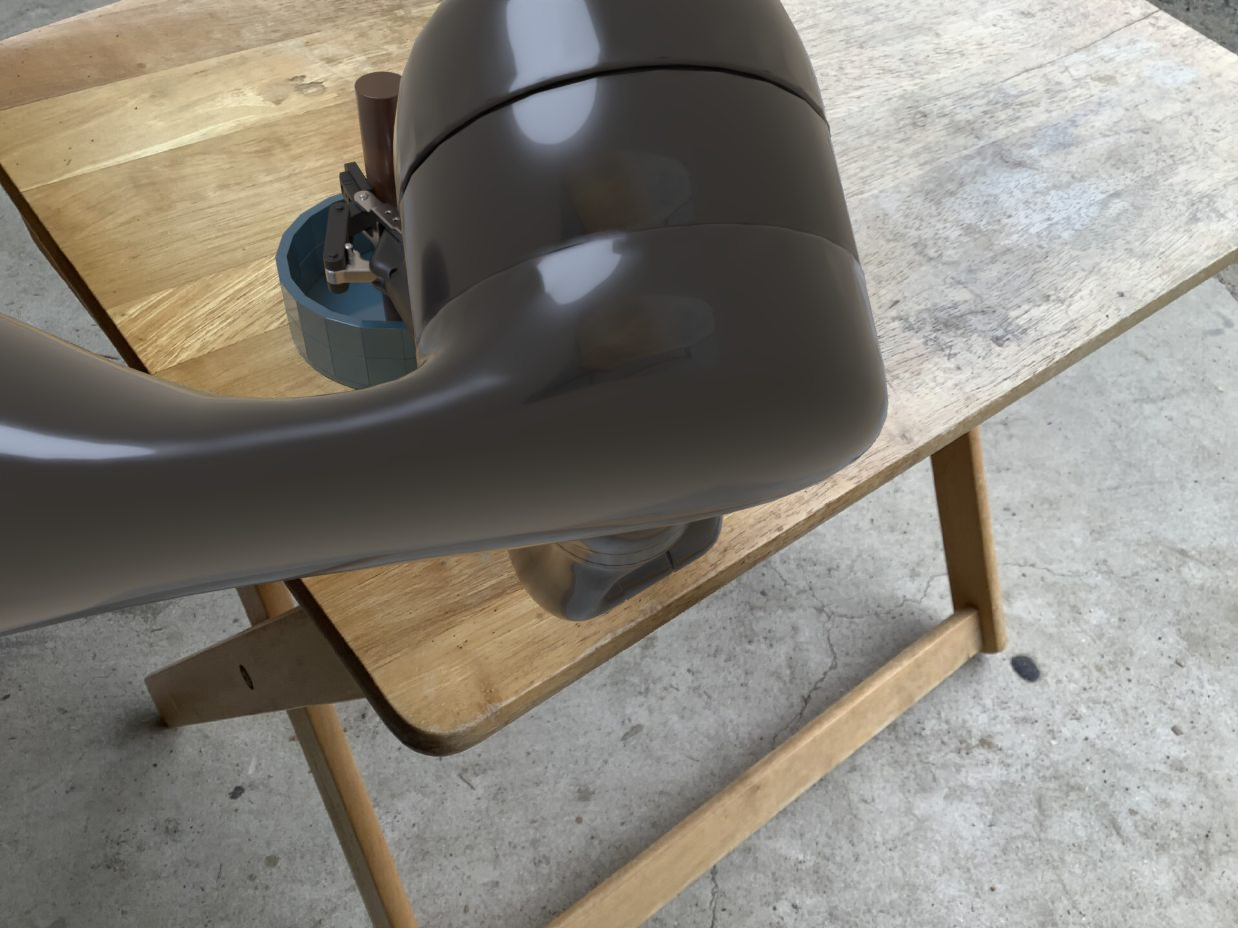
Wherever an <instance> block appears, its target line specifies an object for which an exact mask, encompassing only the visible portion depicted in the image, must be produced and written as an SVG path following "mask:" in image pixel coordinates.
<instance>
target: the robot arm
mask: <svg viewBox="0 0 1238 928" xmlns="http://www.w3.org/2000/svg"><path fill="white" fill-rule="evenodd" d="M423 26H424V27H423V28H422V29H421V31H420V32H419V33H418V35H417V36H416V38H415V40H414V42H413V45H412V48H411V50H410V53H409V56H408V58H407V61H406V63H405V66H404V68H403V71H402V73H401V76H402V77H401V80H400V86H399V94H398V102H397V109H396V117H395V125H394V141H393V161H394V175H395V185H396V196H397V206H398V210H397V209H395V208H394V207H393V206H392V205H391V204H390V203H388V202H387V203H385V204H383V203H382V202H381V201H380V200H379V199H378V198H377V197H376V196H375V195H374V194H373V188H372V186H371V185H370V184H369V183H368V182H367V178H366V175H365V174H364V172H363V171H362V170H361V167H360V166H359V164H357V162H356V161H350V162H345V163H343V168H344V171H340V172H339V174H338V175H339V176H338V178H339V185H340V193H342V197H343V198H344V200H345V201H346V203H347V204H346V203H342V202H338V203H334V204H332V205H331V206H330V208H329V215H328V222H327V230H326V237H325V244H324V251H323V260H324V266H325V272H326V277H327V282H328V288H329V291H330V292H332V293H334V294H341V293H344V292H346V291H347V290H348V289H349V283H359V282H372V285H373V286H374V287H375V288H376V289H377V290H378V291H380V292H382V293H384V294H386V295H387V296H389V297H390V299H391V301H392V302H393V304H394V306H395V308H396V310H397V312H398V313H399V315H400V317H401V318H402V320H403V322H404V323H405V325H406V327H407V328H408V330H409V332H410V333H411V335H412V337H413V338H414V340H415V344H416V359H417V367H418V368H417V369H415V370H414V371H412V372H410V373H409V374H407V375H404V376H402V377H400V378H398V379H395V380H392V381H389V382H386V383H383V384H378V385H374V386H369V387H365V388H360V389H357V388H355V389H351V390H347V391H339V392H331V393H323V394H316V395H315V394H314V395H304V396H289V397H288V396H287V397H260V396H245V395H233V394H224V393H223V394H222V393H218V392H215V391H211V390H206V389H203V388H199V387H195V386H191V385H187V384H184V383H180V382H178V381H174V380H170V379H166V378H163V377H159V376H156V375H152V374H150V373H146V372H143V371H140V370H137V369H136V368H134V367H133V368H132V367H129V366H127V365H124V364H122V363H119V362H118V361H117V362H116V361H114V360H111V359H109V358H107V357H105V356H102V355H100V354H98V353H96V352H93V351H91V350H90V349H87V348H85V347H83V346H80V345H78V344H75V343H73V342H70V341H69V340H67V339H65V338H62V337H59V336H58V335H55V334H52V333H50V332H47V331H46V330H44V329H41V328H39V327H37V326H34V325H32V324H29V323H27V322H25V321H22V320H20V319H17V318H16V317H13V316H11V315H8V314H6V313H2V312H0V638H3V637H4V638H5V637H8V636H12V635H16V634H20V633H25V632H29V631H32V630H36V629H41V628H46V627H49V626H54V625H59V624H62V623H66V622H70V621H71V622H72V621H75V620H79V619H84V618H89V617H94V616H99V615H103V614H107V613H112V612H117V611H123V610H125V609H126V610H127V609H132V608H135V607H140V606H145V605H149V604H150V605H151V604H155V603H156V604H157V603H160V602H165V601H171V600H175V599H182V598H185V597H191V596H195V595H201V594H202V595H203V594H208V593H214V592H221V591H226V590H232V589H238V588H245V587H250V586H256V585H264V584H269V583H270V584H272V583H278V582H286V581H292V580H300V579H305V578H313V577H319V576H327V575H335V574H342V573H350V572H355V571H356V572H357V571H364V570H370V569H379V568H384V567H386V568H387V567H393V566H399V565H407V564H414V563H422V562H428V561H437V560H443V559H444V560H445V559H450V558H452V559H453V558H459V557H464V556H465V557H466V556H473V555H481V554H488V553H495V552H502V551H507V552H508V556H509V560H510V562H511V566H512V567H513V570H514V573H515V575H516V577H517V579H518V580H519V582H520V584H521V586H522V587H523V589H524V590H525V592H526V593H527V594H528V596H529V597H530V598H531V599H532V600H533V601H534V602H535V603H536V604H537V605H538V606H539V607H540V608H542V610H544V611H545V612H546V613H548V614H550V615H552V616H554V618H558V619H560V620H563V621H565V622H574V623H578V622H586V621H591V620H593V619H596V618H598V617H600V616H602V615H605V614H606V613H608V612H610V611H611V610H613V609H615V608H617V607H618V606H620V605H623V604H624V603H625V602H626V601H629V600H630V599H632V598H633V597H635V596H637V595H639V594H641V593H642V592H644V591H646V590H647V589H649V588H651V587H653V586H654V585H656V584H658V583H659V582H661V581H663V580H665V579H666V578H668V577H670V576H671V575H672V574H673V573H677V572H678V571H680V570H681V569H683V568H685V567H687V566H689V565H690V564H693V562H695V561H697V560H699V559H700V558H702V557H704V556H705V555H706V554H707V553H708V552H709V551H710V550H712V549H713V547H714V545H716V543H717V542H718V541H719V537H720V535H721V532H722V529H723V523H724V516H725V515H729V514H733V513H736V512H740V511H744V510H747V509H751V508H754V507H758V506H762V505H765V504H769V503H772V502H775V501H778V500H781V499H783V498H786V497H788V496H791V495H795V494H796V493H799V492H801V491H804V490H806V489H809V488H812V487H814V486H816V485H819V484H821V483H823V482H825V481H826V480H828V479H829V478H831V477H834V475H837V474H838V473H839V472H841V471H843V470H844V469H846V468H848V467H849V466H851V465H853V464H854V463H856V462H857V461H858V460H859V459H860V458H861V457H862V456H864V455H865V454H866V453H867V452H868V451H869V450H870V449H871V447H872V446H873V445H874V444H875V442H876V441H877V439H878V438H879V437H880V435H881V433H882V430H883V428H884V425H885V423H886V420H887V418H888V409H889V392H888V383H887V373H886V371H887V370H886V367H885V362H884V358H883V354H882V349H881V344H880V341H879V336H878V332H877V326H876V323H875V319H874V313H873V309H872V304H871V300H870V295H869V292H868V287H867V282H866V281H867V280H866V275H865V274H866V273H865V270H864V269H863V267H862V261H861V259H860V254H859V249H858V245H857V241H856V237H855V233H854V229H853V223H852V220H851V216H850V211H849V208H848V203H847V199H846V195H845V190H844V186H843V182H842V177H841V174H840V170H839V165H838V161H837V157H836V153H835V148H834V146H833V145H834V144H833V141H832V134H831V127H830V123H829V121H828V119H827V114H826V113H827V112H826V108H825V104H824V100H823V97H822V93H821V89H820V85H819V82H818V78H817V75H816V72H815V70H814V67H813V64H812V61H811V58H810V56H809V54H808V51H807V49H806V47H805V45H804V42H803V40H802V38H801V36H800V34H799V31H798V30H797V28H796V26H795V24H794V22H793V21H792V19H791V18H790V15H789V14H788V12H787V10H786V8H785V7H784V5H783V3H782V1H781V0H442V1H441V2H440V3H439V5H438V6H437V8H436V9H435V10H434V12H433V13H432V15H431V16H430V17H429V19H428V21H427V22H426V24H425V25H423ZM360 232H361V233H362V234H363V235H364V236H365V237H366V238H368V239H369V240H370V241H371V242H372V243H373V245H374V247H375V250H374V252H373V254H372V256H371V258H370V261H366V260H363V259H362V258H361V257H360V253H359V252H358V251H356V250H353V245H354V235H356V234H358V233H360Z"/></svg>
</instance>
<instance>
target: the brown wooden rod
mask: <svg viewBox="0 0 1238 928" xmlns="http://www.w3.org/2000/svg"><path fill="white" fill-rule="evenodd" d="M401 77H402V74H399V73H396V72H392V71H386V70H383V71H381V70H380V71H373V72H372V71H371V72H369V73H365V74H364V75H360V76H359V77H358V78H357V79H356V81H355V82H354V86H353V87H354V96H355V101H356V110H357V117H358V124H359V125H358V126H359V132H360V140H361V148H362V154H363V162H364V170H365V171H364V172H365V177H366V179H367V182H368V183H369V184H370V185H371V186H372V188H373V194H374V195H375V196H376V197H377V198H378V199H379V200H380V201H381V202H382V203H383V204H385V203H387V202H388V203H390V204H391V205H392V206H393V207H394V208H395V209H397V210H398V206H397V196H396V185H395V175H394V161H393V141H394V125H395V117H396V109H397V102H398V94H399V86H400V80H401ZM382 299H383V306H384V314H385V319H386V321H399V322H402V321H403V320H402V318H401V317H400V315H399V313H398V312H397V310H396V308H395V306H394V304H393V302H392V301H391V299H390V297H389V296H387V295H386V294H384V293H382Z"/></svg>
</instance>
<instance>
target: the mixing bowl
mask: <svg viewBox="0 0 1238 928" xmlns="http://www.w3.org/2000/svg"><path fill="white" fill-rule="evenodd" d="M338 202H342V203H346V201H345V200H344V198H343V197H342V192H339V193H337V194H334V195H331V196H328V197H327V198H325V199H323V200H321V201H320V202H318V203H316V204H314V205H313V206H311V207H309V208H308V209H306V210H305V211H303V212H302V213H300V214H299V215H298V216H297V217H296V218H295V219H294V220H293V221H292V223H291V224H290V225H289V226H288V227H287V228H286V229H285V230H284V231H283V233H282V235H281V237H280V241H279V244H278V247H277V250H276V253H275V256H274V260H275V265H276V270H277V277H278V280H279V285H280V289H281V294H282V295H281V296H282V299H283V303H284V308H285V312H286V318H287V322H288V326H289V332H290V335H291V339H292V341H293V344H294V345H295V347H296V349H297V351H298V353H299V354H300V355H301V357H303V359H304V360H305V362H307V363H308V365H310V366H311V367H312V368H313V369H314V370H316V371H317V372H319V373H320V374H322V375H323V376H324V377H326V378H328V379H330V380H332V381H334V382H336V383H339V384H341V385H344V386H346V387H349V388H352V389H360V388H365V387H369V386H374V385H378V384H383V383H386V382H389V381H392V380H395V379H398V378H400V377H402V376H404V375H407V374H409V373H410V372H412V371H414V370H415V369H417V368H418V367H417V359H416V344H415V340H414V338H413V337H412V335H411V333H410V332H409V330H408V328H407V327H406V325H405V323H404V322H403V321H402V322H399V321H386V319H385V314H384V306H383V299H382V292H380V291H378V290H377V289H376V288H375V287H374V286H373V285H372V282H359V283H349V289H348V290H347V291H346V292H344V293H341V294H334V293H332V292H330V291H329V288H328V282H327V277H326V272H325V266H324V260H323V251H324V244H325V237H326V230H327V222H328V215H329V208H330V206H331V205H332V204H334V203H338ZM346 204H347V203H346ZM353 250H356V251H358V252H359V253H360V257H361V258H362V259H363V260H366V261H370V258H371V256H372V254H373V252H374V250H375V247H374V245H373V243H372V242H371V241H370V240H369V239H368V238H366V237H365V236H364V235H363V234H362V233H361V232H360V233H358V234H356V235H354V245H353Z"/></svg>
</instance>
